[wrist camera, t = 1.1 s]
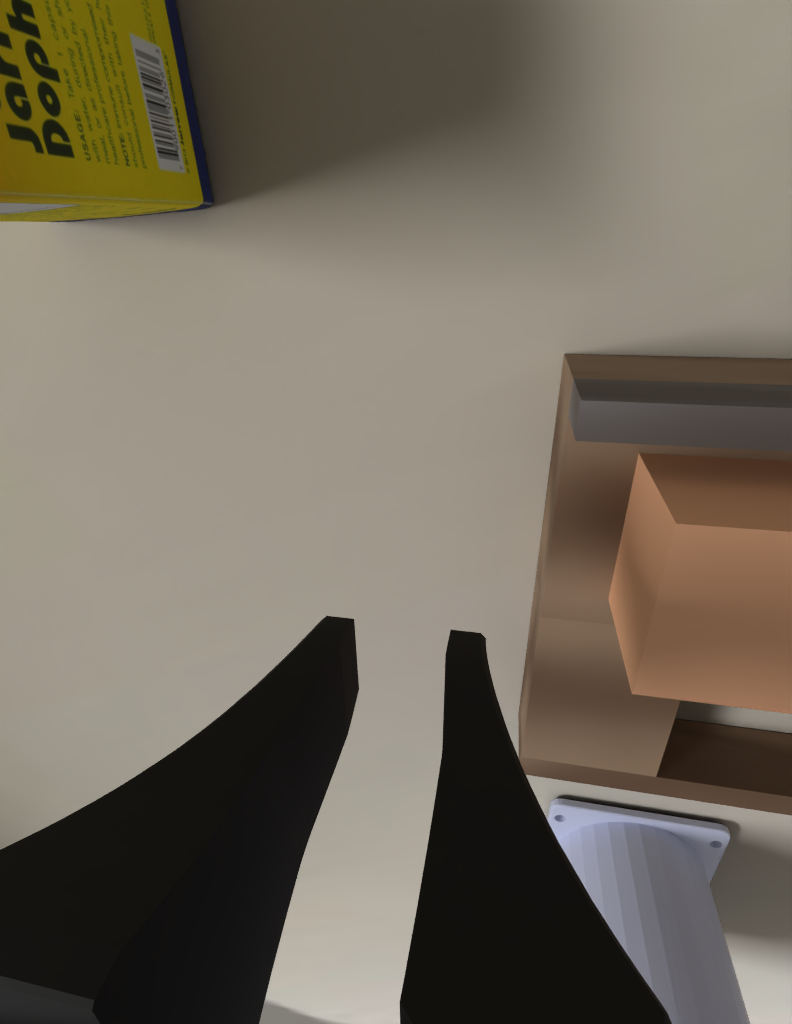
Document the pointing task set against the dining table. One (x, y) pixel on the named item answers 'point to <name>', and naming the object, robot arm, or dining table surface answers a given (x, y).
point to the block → (707, 581)
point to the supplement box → (96, 112)
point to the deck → (590, 568)
